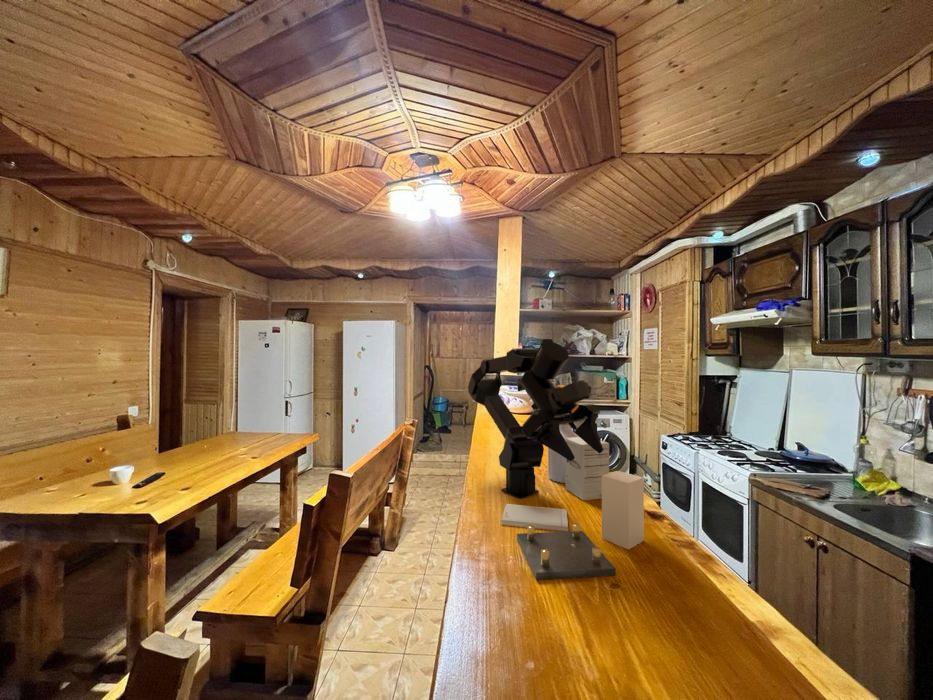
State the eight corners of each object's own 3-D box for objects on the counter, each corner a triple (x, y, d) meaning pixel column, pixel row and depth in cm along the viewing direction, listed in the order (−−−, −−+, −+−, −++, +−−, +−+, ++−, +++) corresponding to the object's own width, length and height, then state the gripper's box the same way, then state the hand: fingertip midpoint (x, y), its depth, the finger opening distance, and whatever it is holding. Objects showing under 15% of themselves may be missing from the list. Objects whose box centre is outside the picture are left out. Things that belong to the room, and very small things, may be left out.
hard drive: (501, 519, 72) (568, 525, 69) (505, 502, 80) (566, 507, 77) (501, 527, 72) (568, 534, 69) (505, 510, 80) (566, 515, 77)
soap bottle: (555, 471, 105) (555, 383, 106) (588, 477, 100) (587, 385, 101) (542, 479, 98) (542, 385, 99) (576, 486, 93) (576, 387, 93)
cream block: (601, 538, 67) (601, 475, 67) (617, 530, 70) (617, 470, 70) (628, 549, 63) (628, 483, 63) (643, 540, 66) (643, 477, 66)
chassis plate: (516, 539, 66) (516, 522, 66) (582, 536, 67) (582, 519, 67) (535, 579, 54) (535, 558, 54) (615, 575, 55) (615, 554, 55)
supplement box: (564, 489, 91) (564, 437, 91) (591, 487, 93) (591, 435, 93) (581, 501, 84) (581, 444, 84) (610, 498, 86) (610, 442, 86)
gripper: (533, 368, 71) (583, 437, 62) (591, 366, 82) (641, 424, 73) (504, 405, 77) (546, 473, 68) (562, 399, 88) (605, 456, 79)
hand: (587, 455), depth 72 cm, fingers open, 9 cm apart
